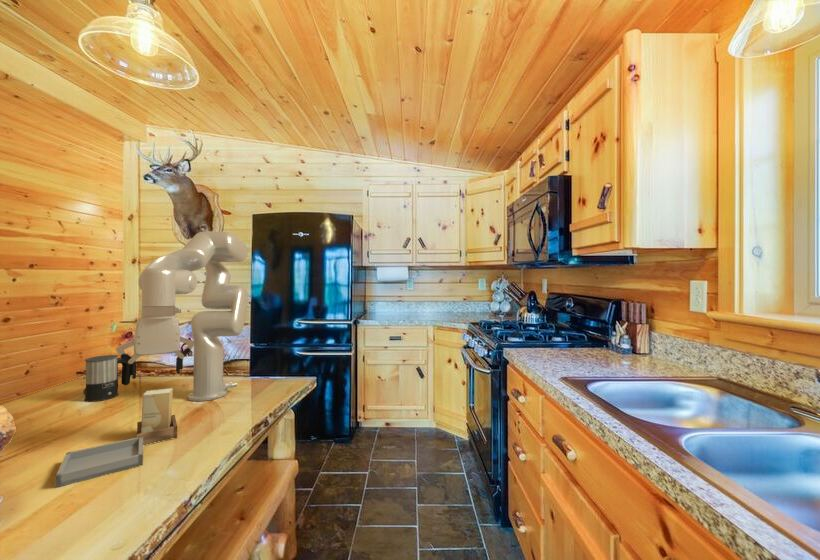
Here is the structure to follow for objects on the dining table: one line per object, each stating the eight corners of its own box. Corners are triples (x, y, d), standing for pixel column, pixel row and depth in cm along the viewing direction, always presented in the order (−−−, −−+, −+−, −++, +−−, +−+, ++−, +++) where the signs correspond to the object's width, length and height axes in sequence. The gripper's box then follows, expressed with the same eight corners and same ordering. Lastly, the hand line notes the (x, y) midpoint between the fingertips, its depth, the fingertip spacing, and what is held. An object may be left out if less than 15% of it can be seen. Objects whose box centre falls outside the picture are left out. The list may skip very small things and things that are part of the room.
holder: (174, 424, 99) (174, 414, 99) (177, 437, 91) (177, 426, 91) (137, 432, 94) (137, 422, 94) (136, 447, 86) (136, 435, 86)
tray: (142, 445, 87) (143, 436, 87) (142, 465, 77) (142, 454, 77) (66, 463, 78) (66, 452, 78) (55, 487, 69) (55, 476, 69)
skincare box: (140, 441, 89) (140, 395, 89) (144, 434, 93) (144, 390, 93) (169, 436, 92) (170, 391, 92) (172, 430, 96) (172, 387, 96)
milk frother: (101, 402, 118) (102, 360, 118) (57, 402, 118) (58, 360, 118) (135, 389, 132) (136, 352, 132) (96, 389, 132) (96, 351, 132)
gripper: (193, 311, 101) (192, 368, 101) (117, 313, 90) (116, 377, 90) (196, 312, 95) (195, 372, 95) (116, 315, 85) (114, 383, 84)
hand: (156, 374), depth 92 cm, fingers open, 9 cm apart
